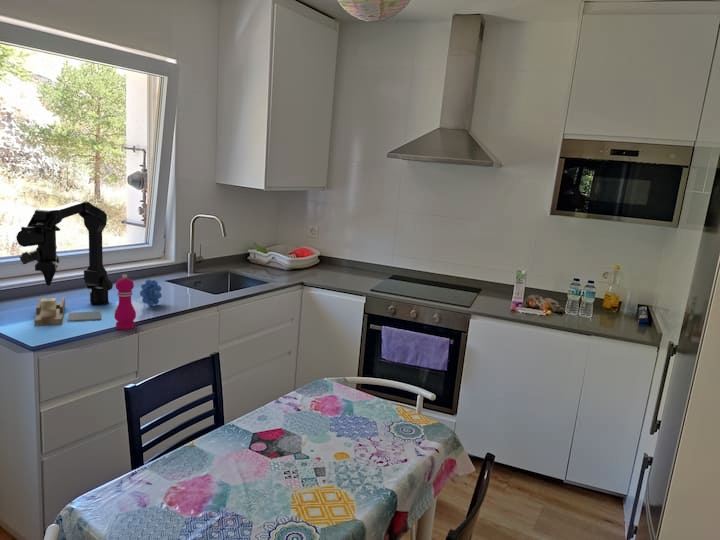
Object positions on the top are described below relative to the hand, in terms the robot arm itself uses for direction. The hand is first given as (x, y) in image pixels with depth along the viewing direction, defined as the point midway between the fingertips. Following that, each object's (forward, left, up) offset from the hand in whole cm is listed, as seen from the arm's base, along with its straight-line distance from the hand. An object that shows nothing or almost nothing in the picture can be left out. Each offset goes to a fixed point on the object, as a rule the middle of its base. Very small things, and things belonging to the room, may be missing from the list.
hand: (48, 285), depth 191 cm
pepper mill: (-25, +17, -13) cm, 33 cm away
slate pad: (-12, 0, -13) cm, 17 cm away
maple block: (0, +2, -11) cm, 11 cm away
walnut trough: (0, -5, -13) cm, 14 cm away
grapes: (-37, -11, -13) cm, 41 cm away
